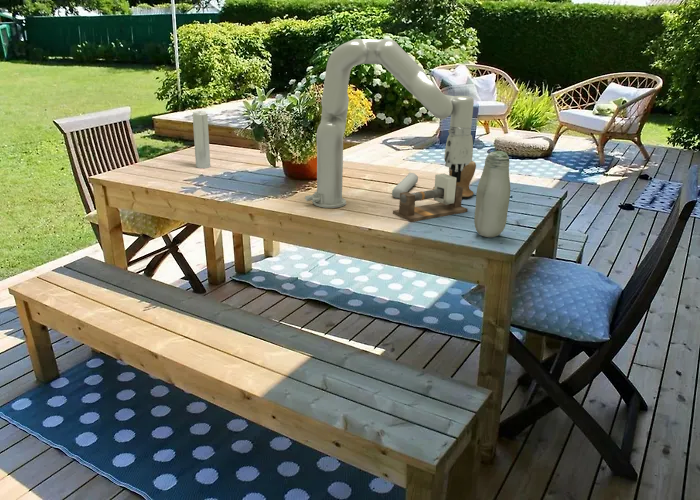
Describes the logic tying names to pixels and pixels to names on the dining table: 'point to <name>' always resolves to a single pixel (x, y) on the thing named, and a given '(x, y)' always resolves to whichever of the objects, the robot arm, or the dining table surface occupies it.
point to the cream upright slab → (445, 188)
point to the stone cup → (465, 178)
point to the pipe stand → (431, 210)
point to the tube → (405, 184)
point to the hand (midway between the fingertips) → (455, 181)
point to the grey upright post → (201, 139)
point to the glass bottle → (493, 195)
